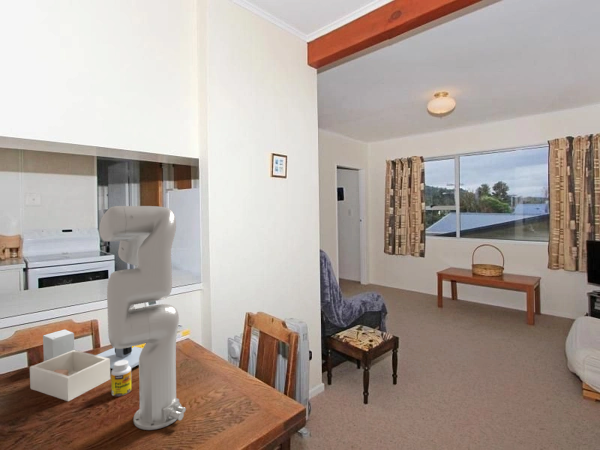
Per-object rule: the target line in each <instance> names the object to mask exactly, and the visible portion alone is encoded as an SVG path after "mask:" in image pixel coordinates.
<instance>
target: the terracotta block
mask: <svg viewBox="0 0 600 450" xmlns="http://www.w3.org/2000/svg"><path fill="white" fill-rule="evenodd" d="M53 372H57V373H60V374H63V375H67V376H68V370H62V369H56V370H55V371H53Z"/></svg>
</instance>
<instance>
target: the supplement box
mask: <svg viewBox="0 0 600 450" xmlns="http://www.w3.org/2000/svg"><path fill="white" fill-rule="evenodd" d="M42 345H43V347H42V349H43V362H44V361H47V360H49V359H52V358H54V357H57V356H59V355H62V354H65V353H67V352H70V351H72V350H75V333H74V332H72V331H69V330H67V329H61V330H58V331H54V332H51V333H47V334H44V335H42Z"/></svg>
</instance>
